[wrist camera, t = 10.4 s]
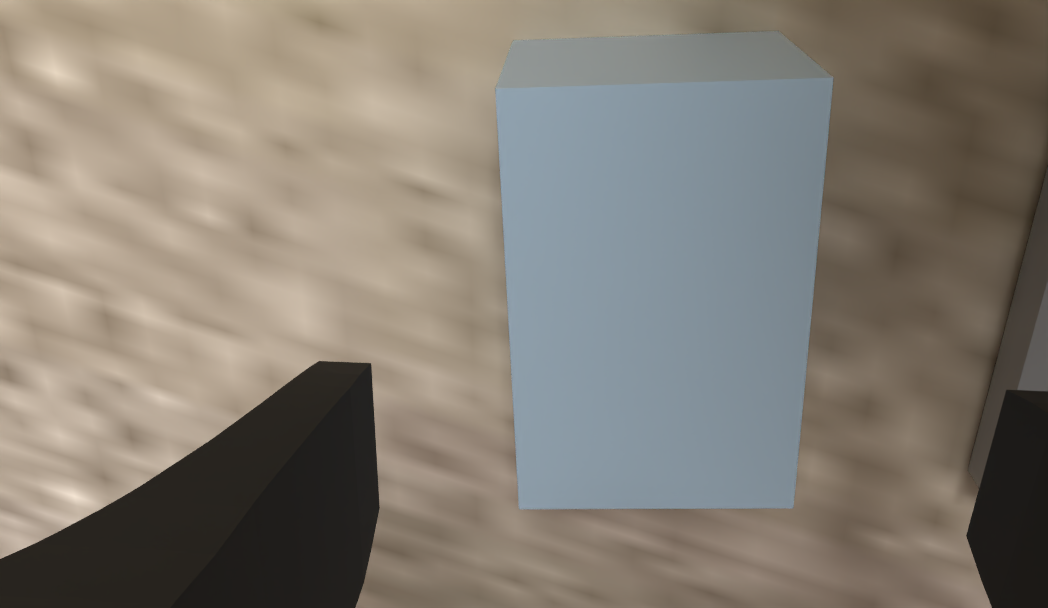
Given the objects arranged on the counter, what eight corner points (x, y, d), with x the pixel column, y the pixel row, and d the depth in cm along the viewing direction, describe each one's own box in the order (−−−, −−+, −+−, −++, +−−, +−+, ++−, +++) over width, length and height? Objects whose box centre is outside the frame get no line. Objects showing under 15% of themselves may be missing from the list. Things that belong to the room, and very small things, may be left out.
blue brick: (752, 385, 19) (793, 508, 16) (529, 388, 19) (519, 509, 16) (775, 29, 16) (833, 77, 13) (513, 38, 16) (495, 88, 13)
